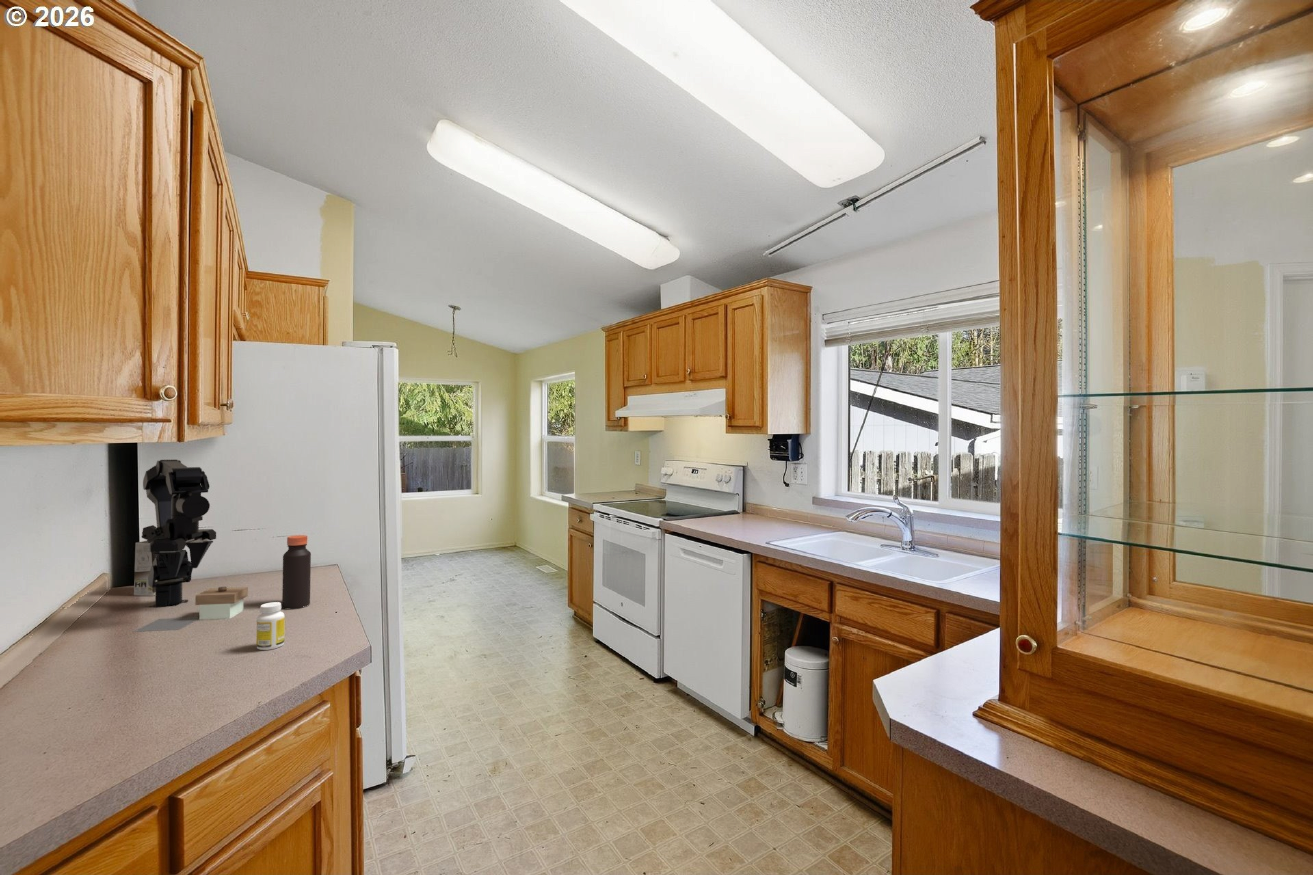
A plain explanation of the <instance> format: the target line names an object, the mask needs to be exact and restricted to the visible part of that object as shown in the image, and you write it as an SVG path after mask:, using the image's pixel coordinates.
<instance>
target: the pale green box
mask: <svg viewBox="0 0 1313 875" xmlns="http://www.w3.org/2000/svg"><path fill="white" fill-rule="evenodd" d="M242 612H244V598H243V599H242V600H240V601H238V602H236V603H234V604H210V605H199V616H198V617H199V619H198V620H199V621H206V620H207V621H208V620H209V621H211V620H226V619H227V620H229V619H232V618H233V617H235V616H237V615H238V614H240V613H242Z"/></svg>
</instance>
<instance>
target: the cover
mask: <svg viewBox="0 0 1313 875" xmlns="http://www.w3.org/2000/svg"><path fill="white" fill-rule="evenodd" d="M248 588H249V587H248V586H239V587H228V586H219V587H217V588H216V587H213V588H209V589H207V590H205V591H202V592H200V593H198V594H196V595H195V603H194V604H195V606H200V605H210V604H234V603H236V602H238V601H240V600H242V599H243V600H244V599H245V598H248V596H249V594H248V593H249V589H248Z"/></svg>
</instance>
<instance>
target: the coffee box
mask: <svg viewBox="0 0 1313 875" xmlns="http://www.w3.org/2000/svg"><path fill="white" fill-rule="evenodd" d="M151 543H152V542H151ZM151 543H148V541H147V540H142V541H138V542H135V546H134V548H135V550H134V580H133V581H134V584H133V587H134V588H133V596H142V597H144V596H147V597H153V596H154V595H155V593H156V587H153V588H152V587H150V586H149V585H148V576H149V573H150V569H151V566H153V561H154V560H155V558H156V557H157V554H154V553H153V552H150V544H151ZM156 581H157V580H155V582H156ZM154 597H155V596H154Z"/></svg>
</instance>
